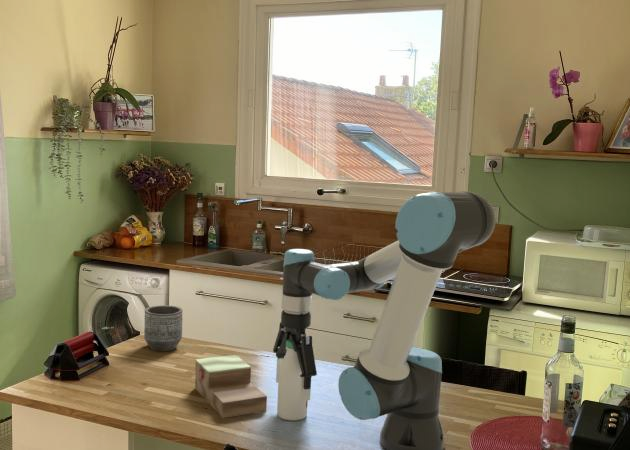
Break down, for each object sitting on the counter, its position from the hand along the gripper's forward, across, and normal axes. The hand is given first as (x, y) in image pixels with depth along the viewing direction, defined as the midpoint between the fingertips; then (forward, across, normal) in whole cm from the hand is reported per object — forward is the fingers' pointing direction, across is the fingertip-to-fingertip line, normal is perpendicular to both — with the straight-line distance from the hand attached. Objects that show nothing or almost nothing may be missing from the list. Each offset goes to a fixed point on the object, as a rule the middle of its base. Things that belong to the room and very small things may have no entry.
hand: (292, 390), depth 181 cm
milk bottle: (+7, 0, 0) cm, 7 cm away
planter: (+7, +66, +15) cm, 68 cm away
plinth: (+7, +16, +11) cm, 20 cm away
